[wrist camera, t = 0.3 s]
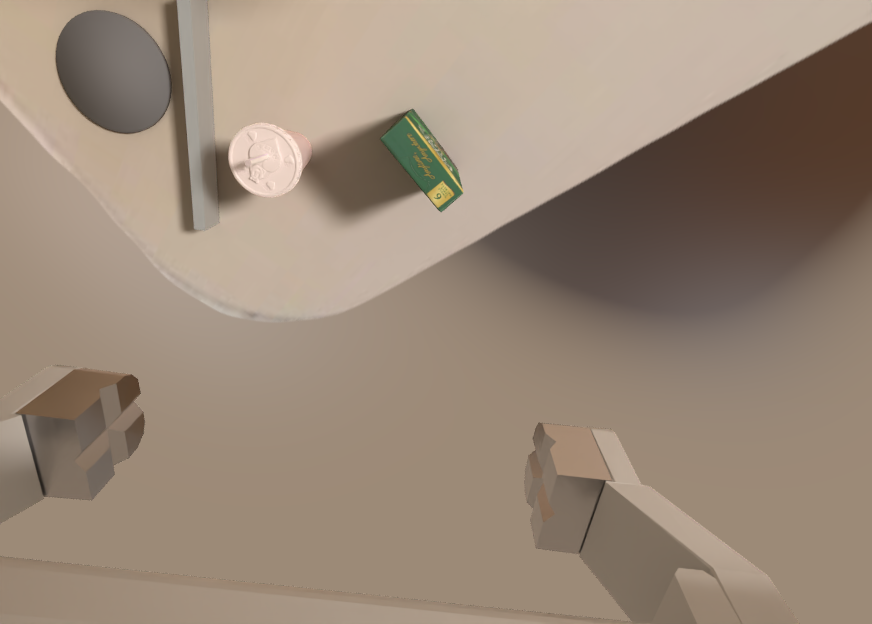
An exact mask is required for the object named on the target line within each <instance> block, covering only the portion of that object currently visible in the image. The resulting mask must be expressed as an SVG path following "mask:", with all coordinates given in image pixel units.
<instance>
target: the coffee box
mask: <svg viewBox="0 0 872 624" xmlns="http://www.w3.org/2000/svg"><path fill="white" fill-rule="evenodd" d="M381 141H382V142H383V143H384V145H385V146H386V147H387V148H388V150H389V151H390V152H391V153H392V154H393V156H394V157H395V158H396V159H397V160H398V162H399V163H400V164H401V165H402V166H403V168H404V169H405V170H406V171H407V173H408V174H409V175H410V176H411V177H412V179H413V180H414V181H415V182H416V184H417V185H418V186H419V187H420V188H421V190H422V191H423V192H424V193H425V195H426V196H427V197H428V198H429V199H430V201H431V202H432V203H433V204H434V205H435V207H436V208H437V209H438V210H439V211H440V212H442V211H443V210H445V209H446V208H447V207H448V206H449V205H450V204H451V203H453V202H454V201H455V200H456V199H457V198H458V197H459V196H461V195H462V194H463V189H462V185H461V182H460V177H459V173H458V169H457V167H456V166H455V165H454V163H453V162H452V160H451V159H450V158H449V156H448V155H447V153H446V152H445V151H444V149H443V147H441V145H440V144H439V143H438V141H437V140H436V138H435V137H434V136H433V135H432V133H431V132H430V131H429V129H428V128H427V127H426V125H425V124H424V122H423V121H422V120H421V119H420V117H419V116H418V115H417V113H416V112H415V111H414V109H411V110H410V111H408V112H407V113H406V114H405V115H404V116H403V117H402V118H401V119H400V120H399V121H397V122H396V123H395V124H394V125H393V126H392V127H391V128H390V129H389V130H388V131H387V132H386V133H385V134H384V135H383V136H382V137H381Z"/></svg>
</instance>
